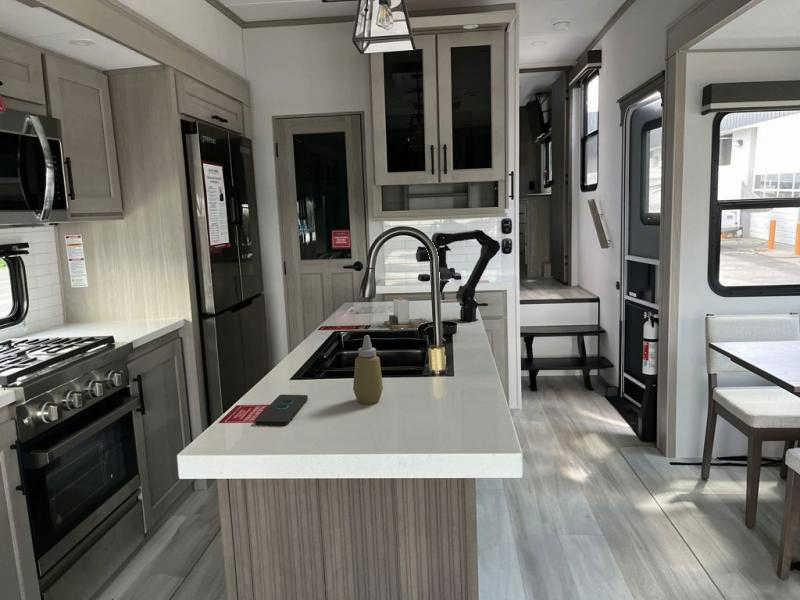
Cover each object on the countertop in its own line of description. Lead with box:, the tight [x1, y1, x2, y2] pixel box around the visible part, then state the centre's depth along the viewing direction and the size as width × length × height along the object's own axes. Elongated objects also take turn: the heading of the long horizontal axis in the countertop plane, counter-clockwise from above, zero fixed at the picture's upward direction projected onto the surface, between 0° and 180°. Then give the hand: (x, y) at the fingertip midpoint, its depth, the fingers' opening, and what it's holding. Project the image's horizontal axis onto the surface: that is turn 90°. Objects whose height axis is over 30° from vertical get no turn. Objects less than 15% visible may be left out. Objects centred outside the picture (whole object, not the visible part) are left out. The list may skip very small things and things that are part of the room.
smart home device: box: [254, 394, 309, 427], centre depth 149 cm, size 8×2×20 cm
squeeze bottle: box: [352, 334, 384, 405], centre depth 154 cm, size 8×8×18 cm
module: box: [392, 297, 410, 324], centre depth 254 cm, size 5×7×11 cm
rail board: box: [383, 314, 430, 330], centre depth 255 cm, size 18×14×4 cm
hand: (439, 296), depth 258 cm, fingers closed
